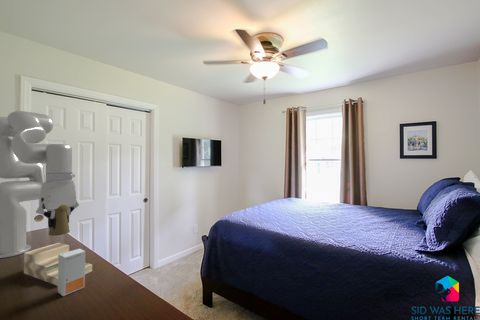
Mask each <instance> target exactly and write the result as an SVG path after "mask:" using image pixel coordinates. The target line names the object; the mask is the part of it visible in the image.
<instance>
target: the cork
mask: <svg viewBox="0 0 480 320" xmlns="http://www.w3.org/2000/svg"><path fill="white" fill-rule="evenodd" d="M67 210H68V206H67V205H61V206H59V207H58V208H57V209H55V210H54V211H55V217H54V218H56V227H55V229H53V227H50V229H48V230H49V231H48V235H49V237H50V236H51V237H52V236H53V237H54V236H55V237H56V236H62V235H66V234H69V233H70V230H71V229H70V223H68V219H67V212H66V211H67Z"/></svg>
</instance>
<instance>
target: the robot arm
mask: <svg viewBox="0 0 480 320" xmlns="http://www.w3.org/2000/svg"><path fill="white" fill-rule="evenodd" d="M53 128H54V123H53V120H52V118H51V117H50V116H49V115H47V114H44V113H37V112H32V111H24V110H16V111H12V112H10V113H8V115H7V116H6V117H5V116H0V179H10V180H11V179H29V180H11V181H9V180H8V181H3V182H0V259H3V258H5V259H6V258H10V257H15V256H18V255H21V254H24V253H25V252H28V251H31V248H32V246H31V245H30V244H27V210H26V208H25V207H24V206H22V205H21V203H22V202H30V201H36V200H39V201H38V208H37V209H36V210H35V213H36V214H39V215H42V216H44V217H46V218H47V227H48V228H49V229H48V230H50V227H53V229H55V227H56V218H54V217H55V211H54V210H55V209H57V208H58V207H59V206H61V205H67V206H68V210H67V211H66V212H67V219H68V224H70V216H71V213H72V212H74V210H75V209H76V208H78V207H79V205H80V204H79V203H78V201H77V191H76V186H75V183H74V182H75V181H74V180H73V178H75V177H76V174H75V173H73V149H72V146H71V145H69V144H65V143H42V141H44V140H45V138H46V136H47V134H49V133H50V132H51V131H52V130H53ZM10 137H11V138H10ZM44 164H45V168H44Z"/></svg>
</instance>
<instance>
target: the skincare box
mask: <svg viewBox="0 0 480 320" xmlns="http://www.w3.org/2000/svg"><path fill="white" fill-rule="evenodd" d="M85 263H86V250H85V249H84V250H83V249H82V248H76V249H74V250H69V252H66V253H63V254H59V255H58V286H57V293H58V294H59V295H61V296H62V297H65V296H68V295H70V294H72V293H74V292H77V291H80V290H83V289H84V288H85V286H86V285H85V283H86V281H85V280H86V274H85Z"/></svg>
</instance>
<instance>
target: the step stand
mask: <svg viewBox="0 0 480 320" xmlns="http://www.w3.org/2000/svg"><path fill="white" fill-rule="evenodd" d="M69 251H70V245H69V244H65V243H61V242H56V243H53V244H49V245H46V246H43V247H39V248H35V249H32V250H29V251H27V252H25V253H23V274H25V275H27V276H29V277H32V278H35V279H38V280H41V281H44V282H46V283H48V284H52V285H54V286H56V287H58V255H59V254H63V253H66V252H69ZM91 272H93V264H92V263H89V262H85V275H87V274H90V273H91Z"/></svg>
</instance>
